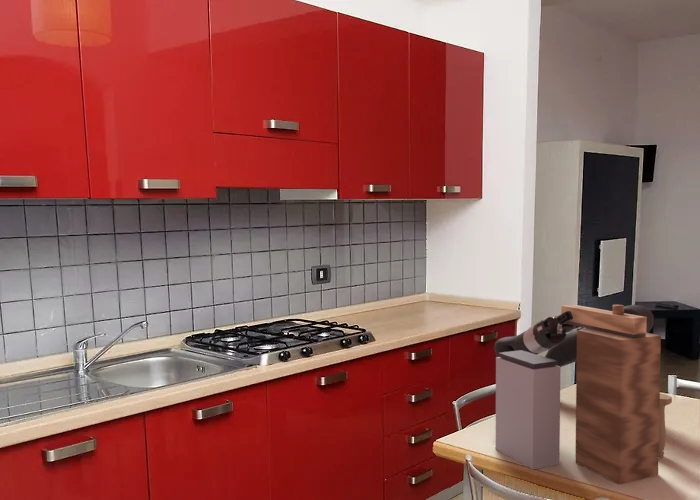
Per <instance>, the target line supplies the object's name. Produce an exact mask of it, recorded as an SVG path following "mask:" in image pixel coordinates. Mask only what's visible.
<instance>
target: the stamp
mask: <svg viewBox="0 0 700 500" xmlns="http://www.w3.org/2000/svg"><path fill="white" fill-rule="evenodd" d="M624 306H625V305H623V304H612V310H607V309H600V308H597V307H595V308H594V307H589V306H583V305H577V304H566V305H565V304H564V305H563V304H562V305H561V311H560V315H561V314H563V313H564V312H566V311H571V314H572V316H573V319H572V320H570V321H568V322H566V323H565V324H569V325H574V326H578V327H583V328H588V329H592V330H597V331H602V332H606V333H611V334H616V335H620V336H625V337H630V338H637V337H646V321H647V317H643V316H637V315H631V314H625V313H624Z"/></svg>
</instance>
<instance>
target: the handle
mask: <svg viewBox="0 0 700 500" xmlns="http://www.w3.org/2000/svg"><path fill="white" fill-rule="evenodd" d="M672 402H673V397H672V396H671V395H668V394H664V393H660V408H659V458H661V459H662V457H664V454H665V451H664V450H665V447H666V419H665V417H666V416H665V415H666V414H665V410H666V406H667V405H669V406H670V405H671V404H672Z"/></svg>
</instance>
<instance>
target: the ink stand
mask: <svg viewBox="0 0 700 500" xmlns="http://www.w3.org/2000/svg"><path fill="white" fill-rule="evenodd" d="M557 365H558V361H556V360H553V359H549V358H546V357H545V356H543V355H540V354H537V355H536V354H533V353H529V352H526V351H523V350H519V351H510V352H501V353H499V357H497V356H496V357H495V450H497V451H499V452H500V453H502V454H504V455H506V456H508V457H510V458H511V459H513V460H515V461H517V462H519V463H520V464H522V465H524V466H526V467H528V468H529V469H531V470H537V469H541V468H546V467H551V466H555V465H559V464H560V457H561V456H560V455H561V454H560V450H561V447H560V446H561V444H560V443H561V442H560V441H561V439H560V438H561V427H560V426H561V367H560V366H557Z"/></svg>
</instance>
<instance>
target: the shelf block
mask: <svg viewBox="0 0 700 500" xmlns="http://www.w3.org/2000/svg"><path fill="white" fill-rule="evenodd" d="M661 340H662V335H659V334H655V333H650V332H648V333H646V337H637V338H630V337H625V336H620V335H616V334H611V333H606V332H602V331H597V330H592V329H584V330H577V361H576V373H575V374H576V377H575V379H576V382H575V384H576V385H575V386H576V387H575V391H576V392H575V398H576V399H575V454H574V455H575V459H574V460H575V462H574V463H576V464H578V465H579V466H582V467H584V468H586V469H587V470H589V471H592V472H594V473H596V474H597V475H600V476H602V477H604V478H605V479H608V480H610V481H612V482H613V483H616V484H618V485H622V484H625V483H630V482H635V481H638V480H642V479H646V478H651V477H654V476H658V475H659V408H660V394H661V393H660V392H661V352H662V350H661V349H662V347H661V345H662V344H661V343H662V342H661Z"/></svg>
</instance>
